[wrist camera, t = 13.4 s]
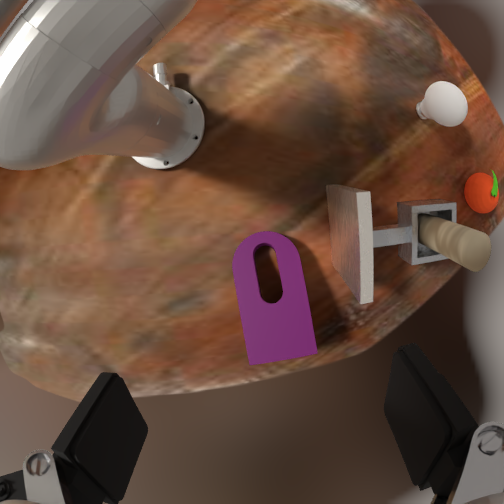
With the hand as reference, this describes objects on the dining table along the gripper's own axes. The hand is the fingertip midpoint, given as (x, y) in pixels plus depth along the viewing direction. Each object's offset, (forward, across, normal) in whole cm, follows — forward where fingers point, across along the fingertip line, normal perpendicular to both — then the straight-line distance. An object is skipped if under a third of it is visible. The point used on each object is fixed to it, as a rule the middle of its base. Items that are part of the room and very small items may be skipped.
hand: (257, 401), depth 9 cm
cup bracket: (+34, -18, +2) cm, 39 cm away
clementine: (+34, -38, -2) cm, 51 cm away
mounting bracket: (+35, 0, +11) cm, 36 cm away
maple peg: (+26, -21, +2) cm, 34 cm away
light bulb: (+34, -28, -15) cm, 47 cm away
